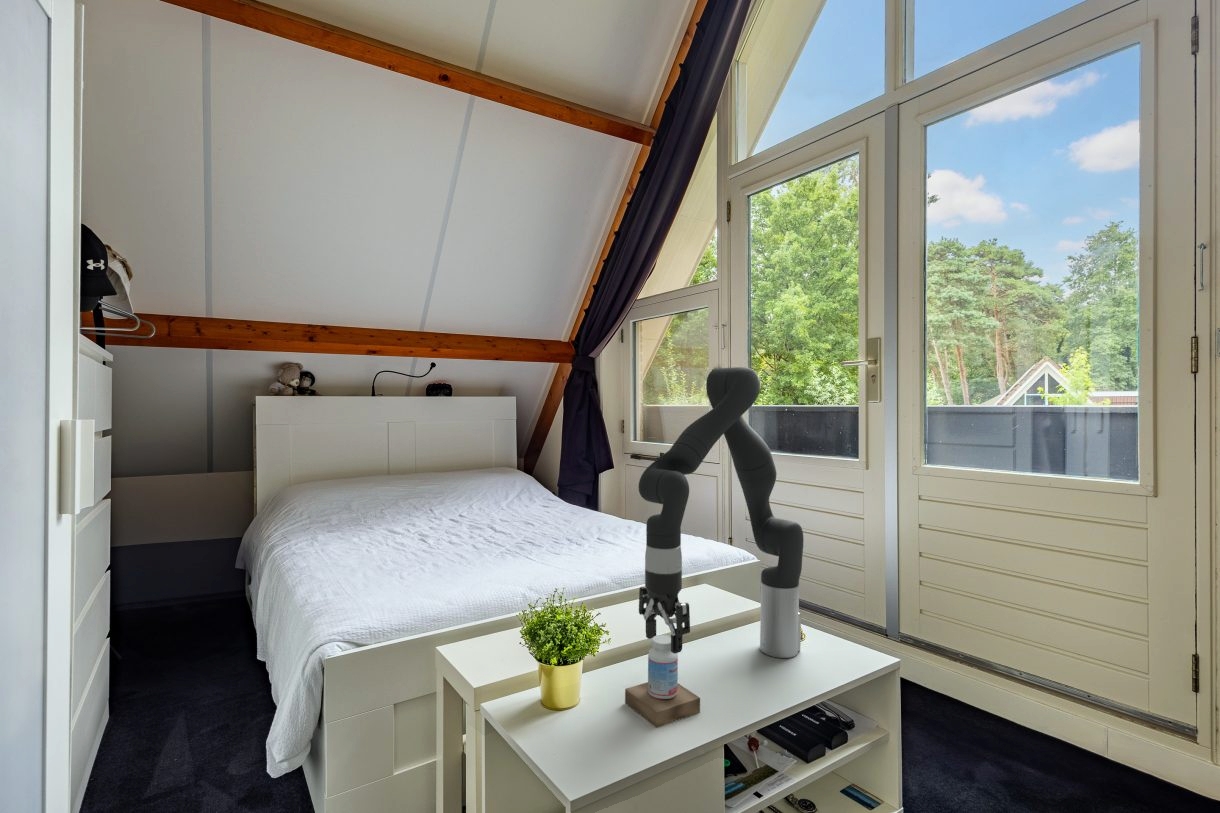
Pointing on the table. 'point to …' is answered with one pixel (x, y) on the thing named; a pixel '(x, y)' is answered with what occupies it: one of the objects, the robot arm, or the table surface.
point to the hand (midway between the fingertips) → (663, 644)
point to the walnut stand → (662, 704)
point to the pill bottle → (662, 669)
